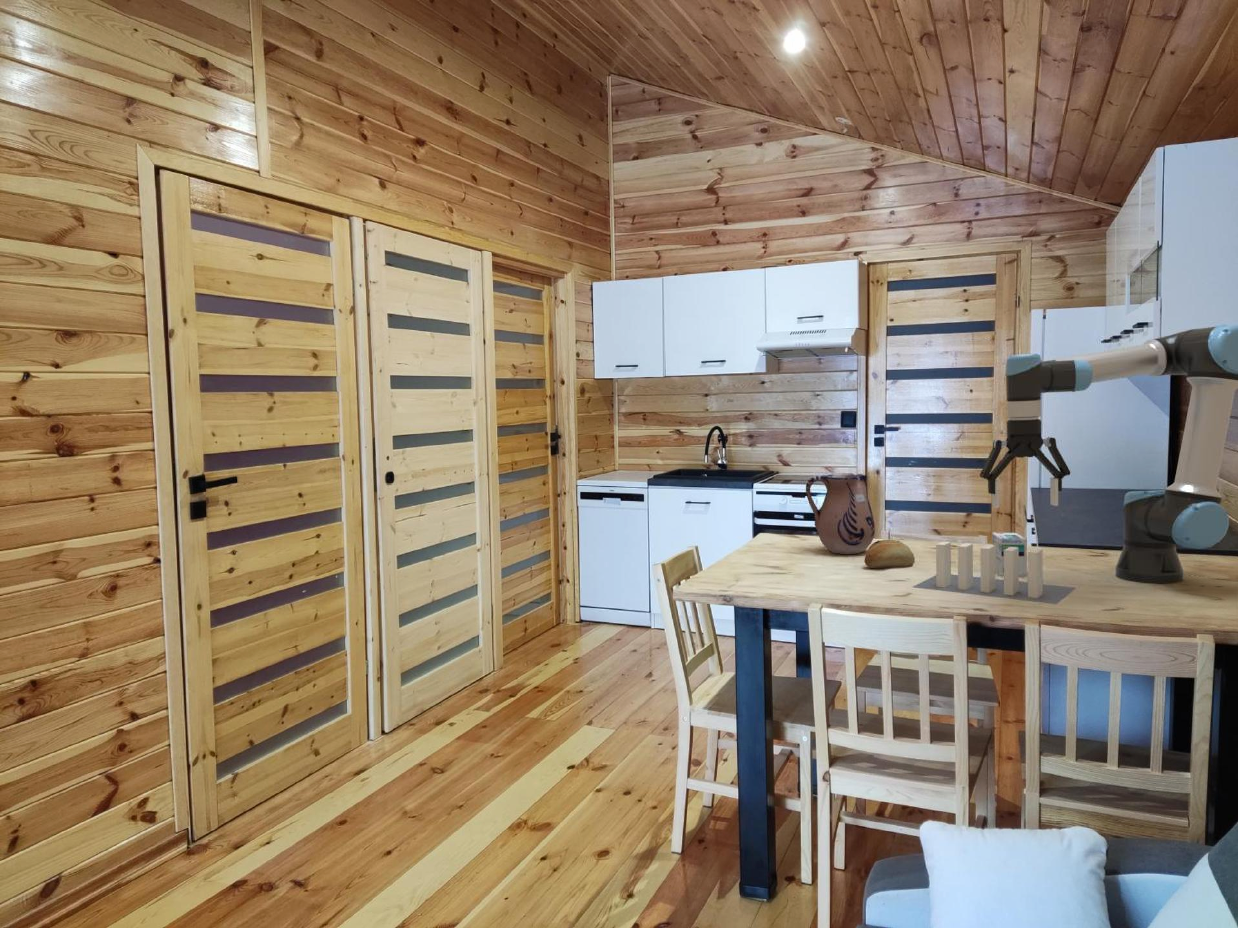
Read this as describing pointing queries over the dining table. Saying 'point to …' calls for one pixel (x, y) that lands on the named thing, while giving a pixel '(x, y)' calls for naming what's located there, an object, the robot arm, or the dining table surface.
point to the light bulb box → (1006, 541)
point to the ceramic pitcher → (843, 513)
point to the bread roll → (889, 555)
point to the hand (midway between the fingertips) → (1025, 506)
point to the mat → (1001, 590)
